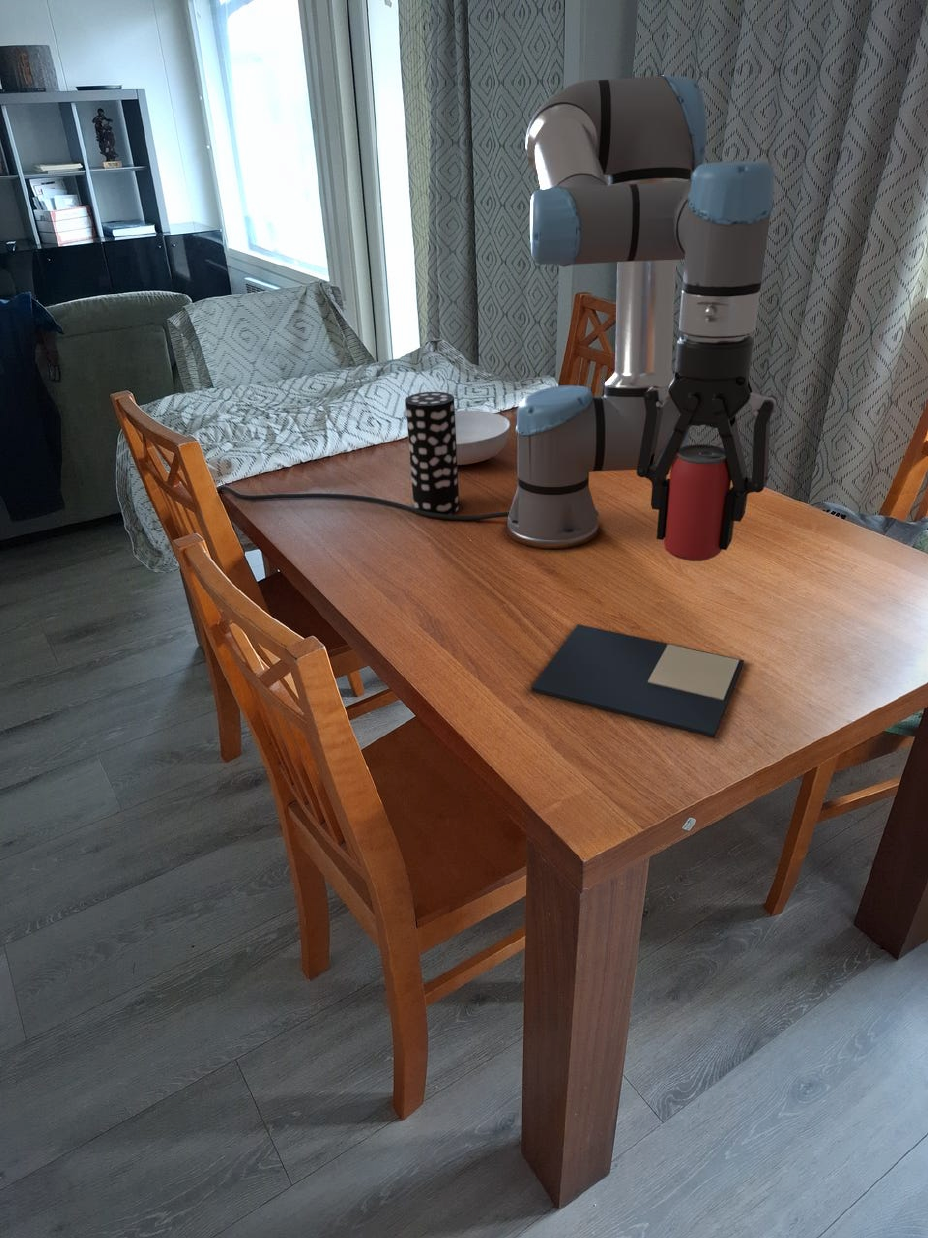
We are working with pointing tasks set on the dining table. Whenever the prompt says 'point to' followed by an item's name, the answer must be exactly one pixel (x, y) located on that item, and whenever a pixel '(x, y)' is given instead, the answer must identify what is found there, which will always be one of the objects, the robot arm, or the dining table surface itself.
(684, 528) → the beer can
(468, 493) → the dining table surface
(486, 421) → the serving bowl
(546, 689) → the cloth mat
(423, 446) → the spotted tube
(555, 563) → the dining table surface
